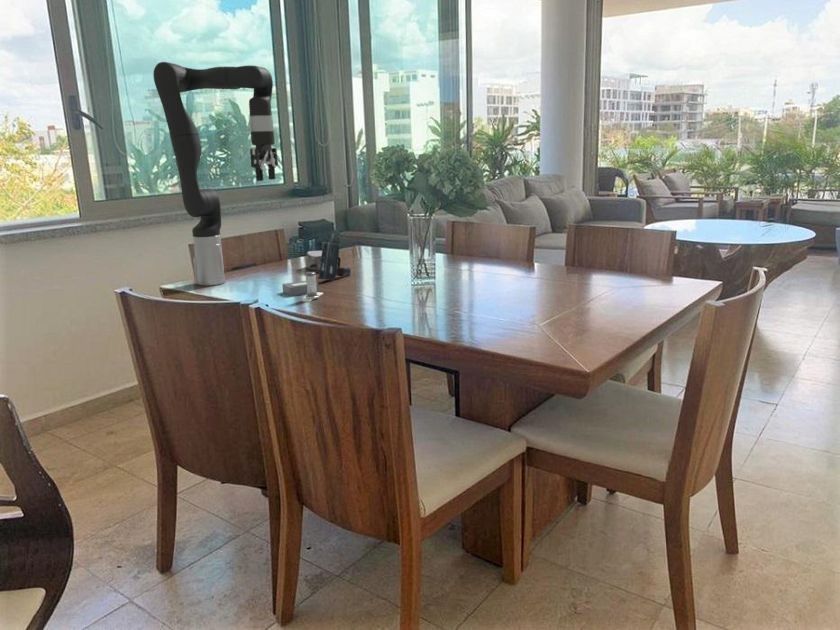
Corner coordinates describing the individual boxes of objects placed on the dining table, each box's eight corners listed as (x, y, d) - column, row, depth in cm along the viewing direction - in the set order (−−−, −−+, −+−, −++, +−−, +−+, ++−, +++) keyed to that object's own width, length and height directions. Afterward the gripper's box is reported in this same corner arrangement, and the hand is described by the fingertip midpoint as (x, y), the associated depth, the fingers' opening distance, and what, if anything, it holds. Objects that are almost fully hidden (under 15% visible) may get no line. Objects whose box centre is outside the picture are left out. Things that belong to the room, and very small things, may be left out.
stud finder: (283, 293, 216) (282, 283, 215) (311, 289, 221) (310, 279, 220) (290, 297, 210) (289, 286, 209) (319, 293, 215) (318, 282, 214)
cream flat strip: (302, 301, 203) (302, 300, 203) (316, 293, 213) (316, 292, 213) (309, 301, 202) (309, 300, 202) (323, 293, 212) (323, 292, 212)
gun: (355, 237, 239) (328, 231, 227) (350, 282, 240) (322, 279, 228) (350, 236, 241) (322, 231, 228) (344, 281, 242) (317, 278, 229)
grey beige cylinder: (303, 298, 204) (302, 273, 202) (309, 295, 208) (307, 271, 206) (315, 299, 203) (313, 274, 201) (320, 296, 207) (319, 271, 205)
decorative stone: (321, 265, 263) (298, 267, 258) (321, 248, 262) (298, 250, 256) (338, 271, 252) (314, 273, 246) (338, 253, 250) (314, 255, 244)
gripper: (261, 129, 207) (266, 181, 212) (282, 130, 221) (285, 178, 225) (240, 130, 209) (245, 181, 214) (262, 130, 223) (266, 178, 227)
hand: (266, 180), depth 219 cm, fingers open, 8 cm apart
